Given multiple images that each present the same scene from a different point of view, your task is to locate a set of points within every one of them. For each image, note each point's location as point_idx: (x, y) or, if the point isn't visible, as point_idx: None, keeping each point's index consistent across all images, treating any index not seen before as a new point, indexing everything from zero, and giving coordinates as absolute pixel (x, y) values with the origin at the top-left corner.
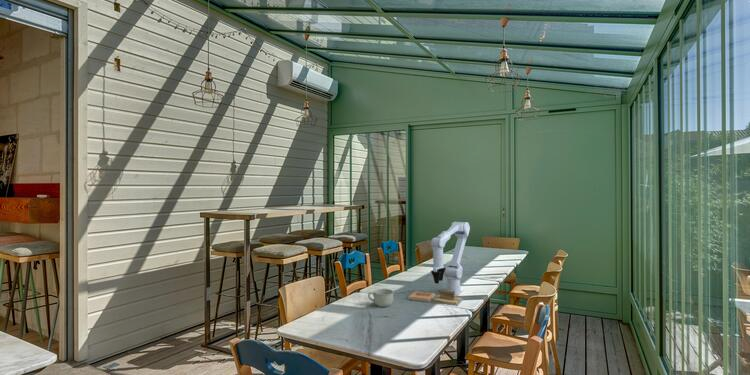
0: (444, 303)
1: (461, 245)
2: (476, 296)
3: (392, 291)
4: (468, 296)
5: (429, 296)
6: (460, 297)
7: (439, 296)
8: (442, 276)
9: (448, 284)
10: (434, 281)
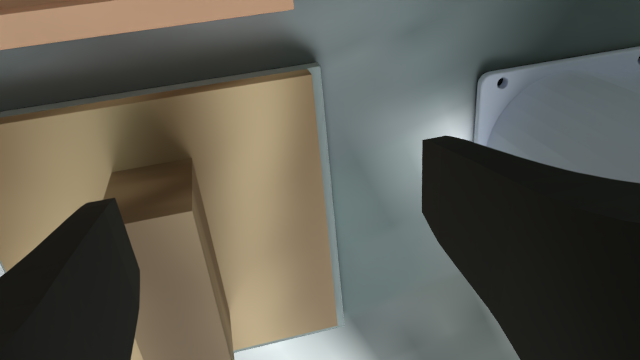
0: None
1: None
2: (487, 350)
3: None
4: (465, 304)
5: (48, 13)
6: (309, 328)
7: (216, 121)
8: (475, 281)
9: (582, 158)
10: (64, 223)
